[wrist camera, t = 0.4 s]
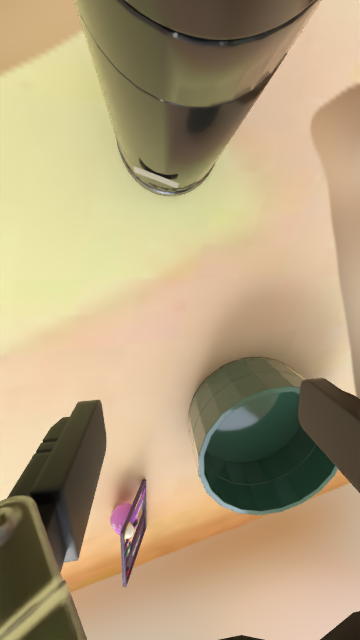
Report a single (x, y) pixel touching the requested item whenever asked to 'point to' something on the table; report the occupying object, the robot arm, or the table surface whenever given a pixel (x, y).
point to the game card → (130, 530)
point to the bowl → (255, 439)
